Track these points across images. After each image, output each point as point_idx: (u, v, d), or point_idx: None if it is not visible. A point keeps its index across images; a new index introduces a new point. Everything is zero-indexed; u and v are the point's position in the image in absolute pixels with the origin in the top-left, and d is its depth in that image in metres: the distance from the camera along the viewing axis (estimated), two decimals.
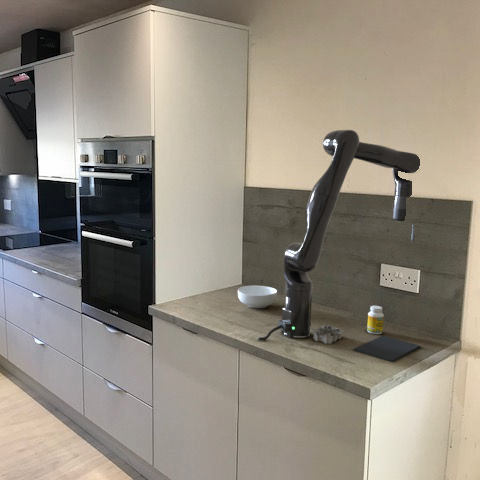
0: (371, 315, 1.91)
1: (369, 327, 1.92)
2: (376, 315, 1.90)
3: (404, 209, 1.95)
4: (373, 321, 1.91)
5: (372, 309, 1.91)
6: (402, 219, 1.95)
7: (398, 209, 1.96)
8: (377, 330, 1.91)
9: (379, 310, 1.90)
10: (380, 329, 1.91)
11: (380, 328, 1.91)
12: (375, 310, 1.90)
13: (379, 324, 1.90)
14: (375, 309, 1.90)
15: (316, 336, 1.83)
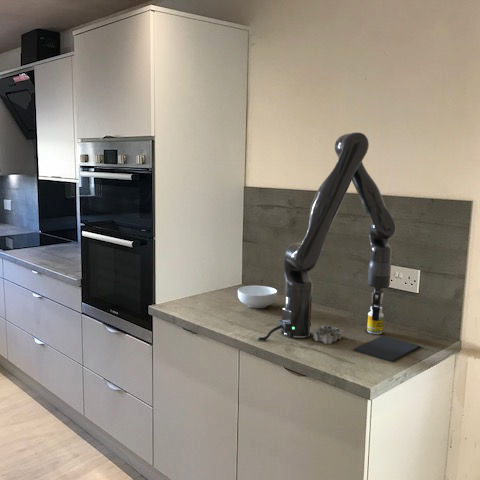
0: (371, 315, 1.91)
1: (369, 327, 1.92)
2: None
3: (371, 275, 1.88)
4: (373, 321, 1.91)
5: None
6: (370, 284, 1.89)
7: (368, 274, 1.91)
8: (377, 330, 1.91)
9: None
10: (380, 329, 1.91)
11: (380, 328, 1.91)
12: None
13: (379, 324, 1.90)
14: None
15: (316, 336, 1.83)
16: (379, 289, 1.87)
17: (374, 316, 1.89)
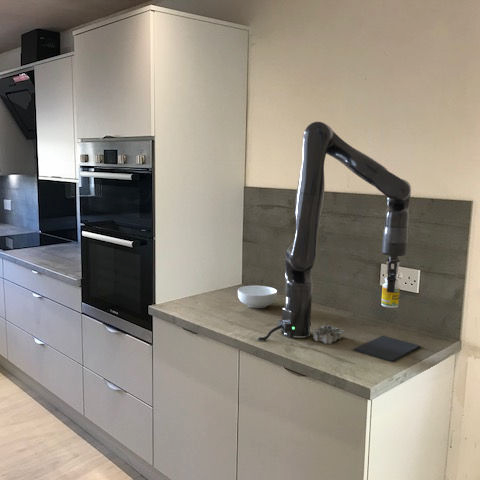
0: (386, 287, 1.74)
1: (384, 300, 1.75)
2: None
3: (386, 242, 1.71)
4: (388, 293, 1.73)
5: None
6: (385, 253, 1.72)
7: (382, 241, 1.73)
8: (392, 303, 1.73)
9: (395, 281, 1.73)
10: (396, 302, 1.73)
11: (396, 301, 1.73)
12: None
13: (394, 296, 1.73)
14: None
15: (316, 336, 1.83)
16: (395, 257, 1.70)
17: (389, 287, 1.72)
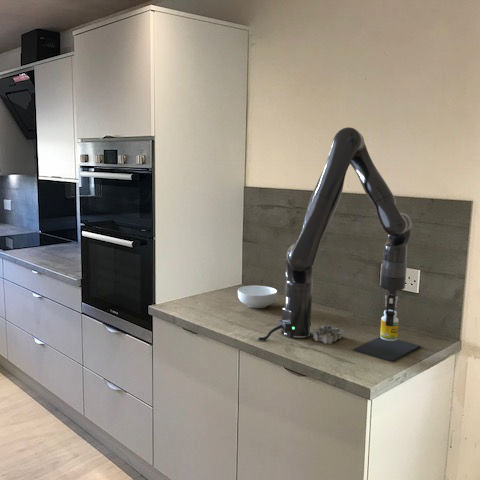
0: (385, 320, 1.74)
1: (382, 333, 1.75)
2: None
3: (385, 276, 1.71)
4: (387, 326, 1.74)
5: None
6: (383, 287, 1.72)
7: (381, 275, 1.74)
8: (391, 336, 1.74)
9: None
10: (395, 335, 1.74)
11: (395, 334, 1.74)
12: None
13: (393, 330, 1.73)
14: None
15: (316, 336, 1.83)
16: (394, 291, 1.70)
17: (388, 321, 1.72)
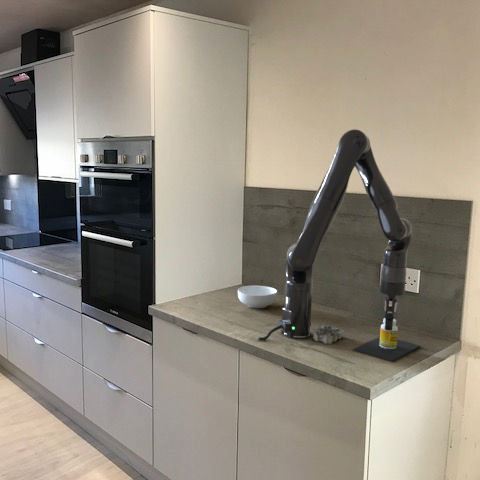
0: (384, 328, 1.75)
1: (382, 341, 1.76)
2: None
3: (384, 281, 1.71)
4: (386, 335, 1.74)
5: None
6: (383, 292, 1.72)
7: (381, 280, 1.74)
8: (390, 344, 1.74)
9: (393, 323, 1.74)
10: (394, 344, 1.74)
11: (394, 343, 1.74)
12: None
13: (392, 338, 1.74)
14: None
15: (316, 336, 1.83)
16: (393, 297, 1.70)
17: (387, 325, 1.71)
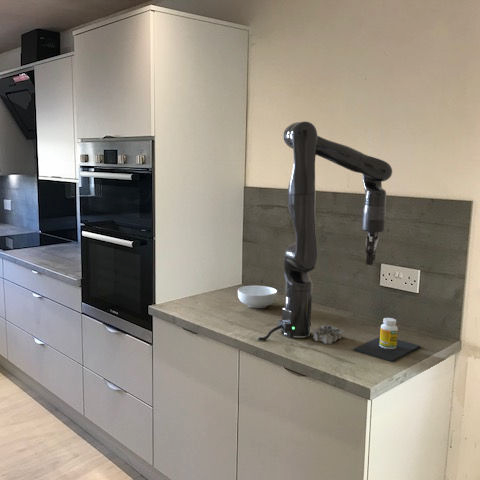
0: (384, 328, 1.75)
1: (382, 341, 1.76)
2: (390, 328, 1.73)
3: (366, 219, 1.85)
4: (386, 335, 1.74)
5: (385, 322, 1.75)
6: (364, 229, 1.86)
7: None
8: (390, 344, 1.74)
9: (393, 323, 1.74)
10: (394, 344, 1.74)
11: (394, 343, 1.74)
12: (388, 323, 1.74)
13: (392, 338, 1.74)
14: (388, 322, 1.74)
15: (316, 336, 1.83)
16: (373, 233, 1.84)
17: (368, 260, 1.85)
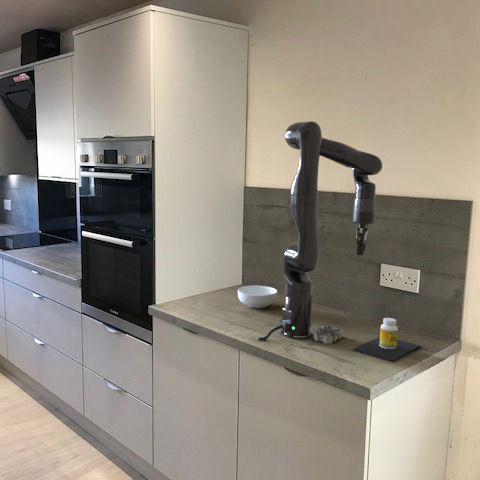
0: (384, 328, 1.75)
1: (382, 341, 1.76)
2: (390, 328, 1.73)
3: (356, 211, 1.93)
4: (386, 335, 1.74)
5: (385, 322, 1.75)
6: (355, 221, 1.94)
7: (353, 211, 1.95)
8: (390, 344, 1.74)
9: (393, 323, 1.74)
10: (394, 344, 1.74)
11: (394, 343, 1.74)
12: (388, 323, 1.74)
13: (392, 338, 1.74)
14: (388, 322, 1.74)
15: (316, 336, 1.83)
16: (363, 225, 1.92)
17: (359, 250, 1.92)
